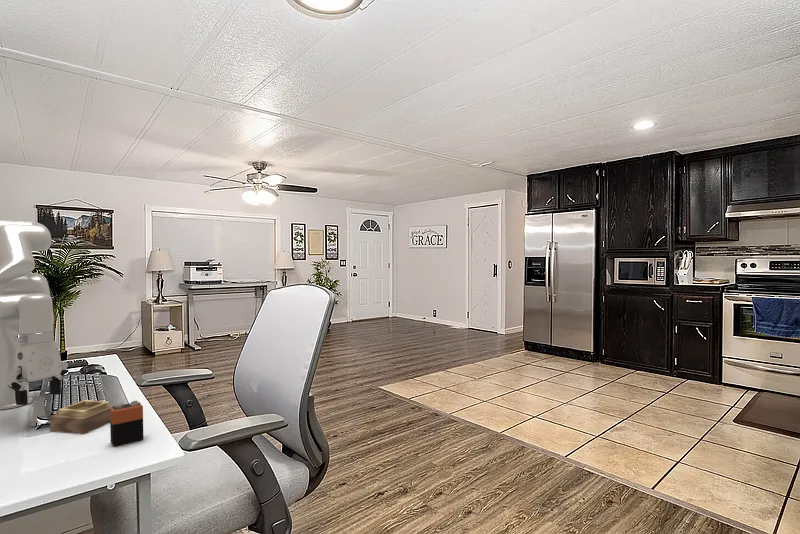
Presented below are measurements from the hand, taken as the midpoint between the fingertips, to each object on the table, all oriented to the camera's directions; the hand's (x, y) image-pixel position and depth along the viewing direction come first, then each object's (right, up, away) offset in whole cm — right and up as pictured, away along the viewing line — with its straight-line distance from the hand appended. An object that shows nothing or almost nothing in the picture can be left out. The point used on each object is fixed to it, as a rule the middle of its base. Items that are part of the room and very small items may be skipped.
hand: (39, 399), depth 129 cm
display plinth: (+13, -7, 0) cm, 15 cm away
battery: (+32, -8, -11) cm, 34 cm away
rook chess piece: (-1, -7, +1) cm, 7 cm away
